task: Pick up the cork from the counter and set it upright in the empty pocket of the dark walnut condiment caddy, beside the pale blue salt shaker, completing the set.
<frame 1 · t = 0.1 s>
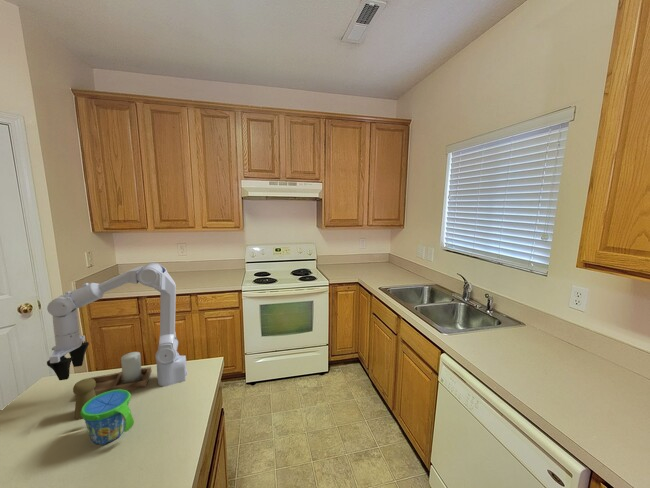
hand: (71, 372, 88), 10 cm above the worktop, fingers open, 7 cm apart
snack cup: (109, 435, 76), on the worktop
salt shaker: (132, 381, 98), point 1 cm above the worktop, touching caddy
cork: (87, 415, 83), on the worktop
caddy: (117, 387, 96), on the worktop
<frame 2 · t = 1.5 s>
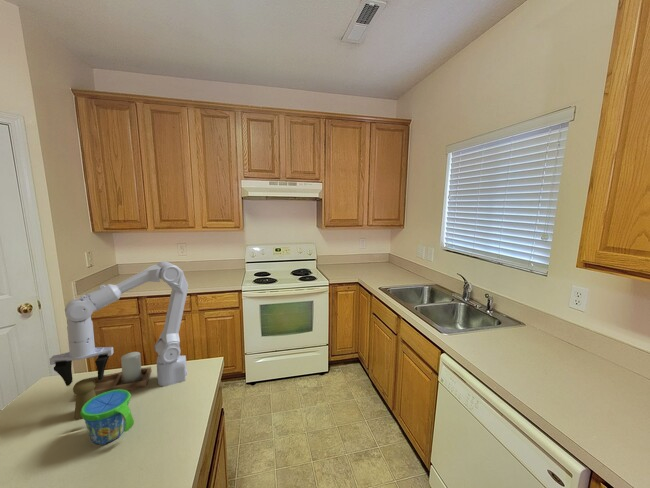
hand: (85, 381, 83), 10 cm above the worktop, fingers open, 7 cm apart
nothing on the worktop moved.
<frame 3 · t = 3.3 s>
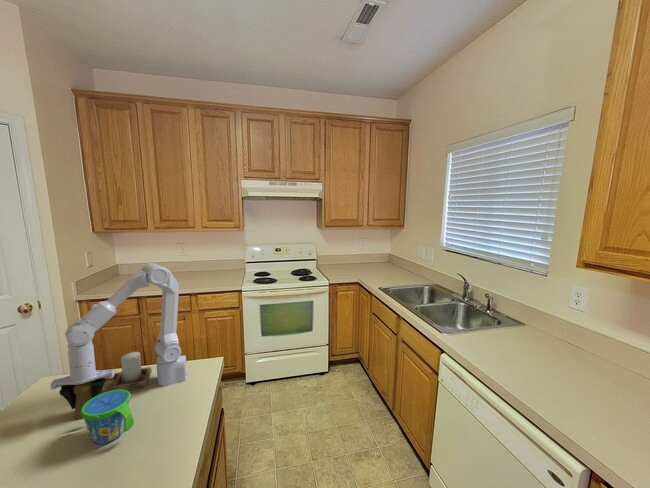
hand: (86, 404, 83), 3 cm above the worktop, fingers closed on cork, 5 cm apart
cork: (87, 415, 83), on the worktop, touching gripper
everything else where it was.
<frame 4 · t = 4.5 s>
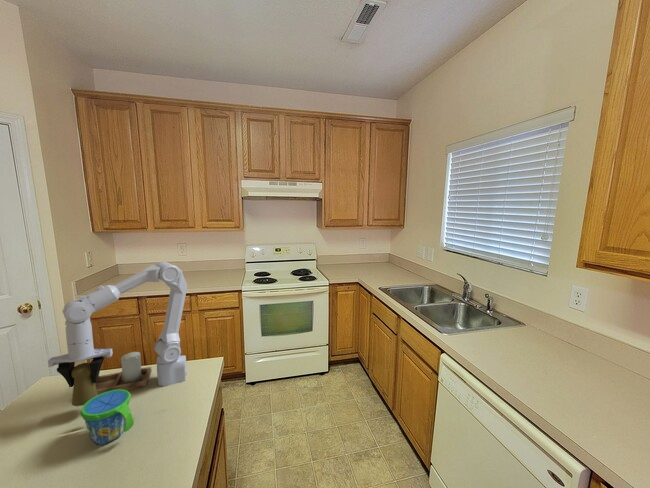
hand: (84, 382, 82), 10 cm above the worktop, fingers closed on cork, 5 cm apart
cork: (85, 399, 83), point 5 cm above the worktop, touching gripper
everything else where it was.
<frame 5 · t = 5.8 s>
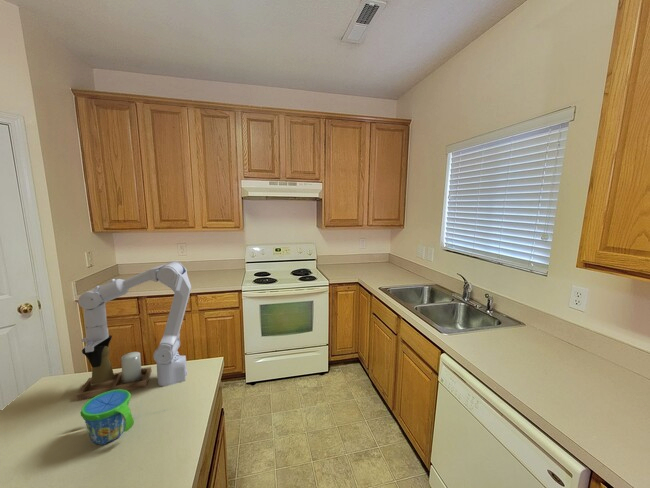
hand: (99, 362, 94), 10 cm above the worktop, fingers closed on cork, 5 cm apart
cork: (103, 378, 94), point 4 cm above the worktop, touching gripper
everything else where it was.
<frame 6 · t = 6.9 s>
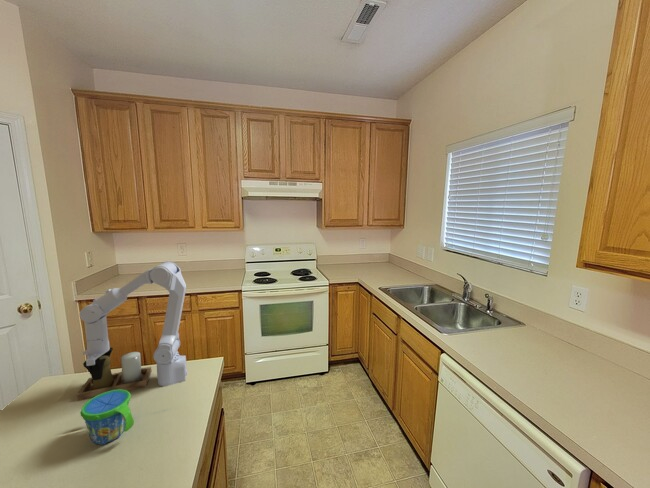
hand: (100, 374, 94), 6 cm above the worktop, fingers closed on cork, 5 cm apart
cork: (103, 387, 95), point 1 cm above the worktop, touching caddy, gripper
everything else where it was.
when the fingers open (6 cm above the worktop, at t = 7.1 s): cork stays where it is, resting on caddy.
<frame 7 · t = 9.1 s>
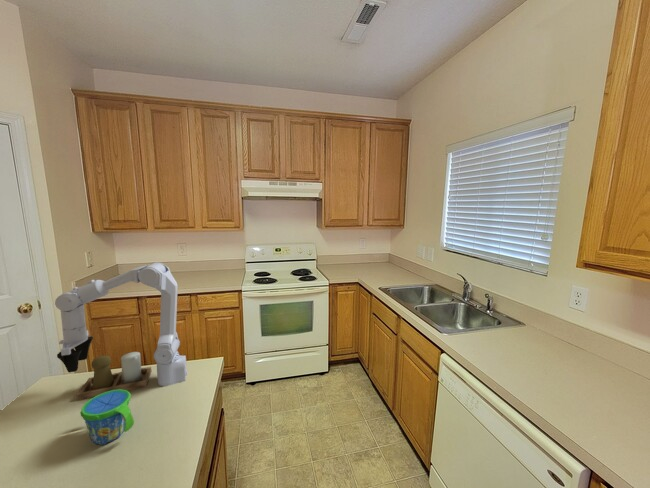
hand: (78, 365, 91), 10 cm above the worktop, fingers open, 7 cm apart
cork: (103, 387, 95), point 1 cm above the worktop, touching caddy
everything else where it was.
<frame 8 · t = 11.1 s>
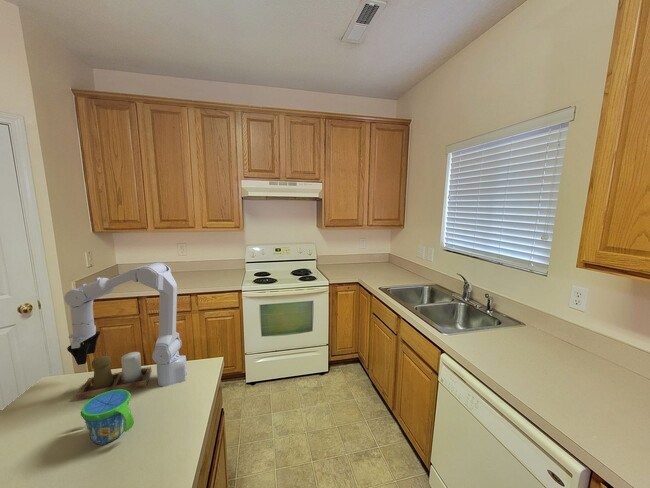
hand: (86, 358, 96), 10 cm above the worktop, fingers open, 7 cm apart
nothing on the worktop moved.
at the end: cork 0.5 cm from the target spot on the caddy, point 0.6 cm above the caddy's base; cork tilted 0°; the gripper is holding nothing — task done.
